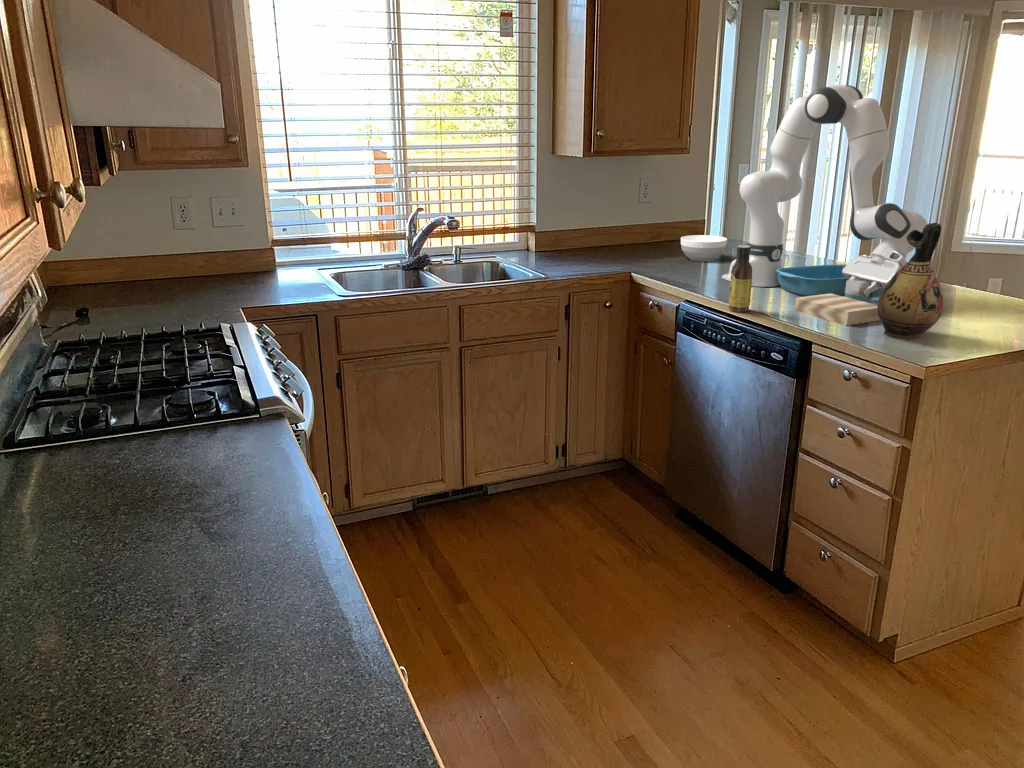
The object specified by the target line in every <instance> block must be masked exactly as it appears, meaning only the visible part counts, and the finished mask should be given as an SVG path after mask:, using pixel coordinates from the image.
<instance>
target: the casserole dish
mask: <svg viewBox="0 0 1024 768" xmlns="http://www.w3.org/2000/svg"><path fill="white" fill-rule="evenodd" d="M846 265H847V264H821V265H820V264H819V265H807V266H806V265H803V266H793V267H792V266H791V267H782V268H780V269H777V270H776V271H777V275H778V280H779V284H780V285H779V286H780V287H781V288H782V289H783V290H784V291H786V292H791V293H794V294H795V295H800V296H802V297H806V296H814V295H821V294H829V293H831V294H835V295H839V296H845V289H846V282H847V280H849V279H846V278H845V276H844V275H843V273H842V270H843V268H844V267H845V266H846Z"/></svg>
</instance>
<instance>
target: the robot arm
mask: <svg viewBox="0 0 1024 768" xmlns="http://www.w3.org/2000/svg"><path fill="white" fill-rule="evenodd" d="M838 123H839V124H841V125H843V127H844V129H845V132H846V137H847V143H848V149H849V171H848V172H849V175H848V176H849V185H850V196H851V198H850V199H851V215H850V221H849V226H850V230H851V233H852V235H854V237H855V238H857V239H858V240H861V241H870V240H873V239H875V238H879V239H880V242H879V244H878V245H877V246H876V247H875V248H874V249H873V251H872V252H871V253H870V254H869V255H868V254H865V253H864V254H860V255H857V256H855V257H854V258H853V259H852V260H850V262H849V263H848V264H845V265H846V266H845V267H844V268H843V270H842V273H843V275H844V276H845V278H846V279H849V280H852V279H862V280H866V281H871V286H869V287H868V288H864V289H863V291H862V292H861V293H862V295H864V296H868V295H869V294H871V293H873V292H875V291H877V290H878V289H879V288H881V289H884V288H885V286H886V285H887V283H888V282H889V281H890V280H891V278H892V277H893V276H894V275H895V274H896V273H897V272H898V271H899V270H900V269H901V268H902V267H903V266H904V265H905V264H906V263H908V261H907V260H906V258H907V256H908V254H909V253H911V252H913V250H914V249H915V247H913V246H912V245H910V244H909V243H908V241H907V235H908V234H909V233H910V232H911V231H913V230H918V231H919V232H921V233H922V231H923V229H924V227H925V226H926V225H927V224H928V221H927V220H926V219H925V217H924V216H923V215H921V214H920V213H918V212H916V211H907V210H904V209H902V208H901V207H899V206H898V204H895V203H891V202H889V203H888V202H887V203H882V204H878V205H875V203H874V193H873V182H872V181H873V176H874V173H875V171H876V170H877V168H878V167H879V166H880V165H881V163H882V162H883V161H884V160H885V159H886V157H887V155H888V154H889V151H890V137H889V131H888V127H887V122H886V119H885V116H884V113H883V110H882V107H881V105H880V103H879V101H878V100H877V99H875V98H872V97H864V95H863V93H862V91H861V90H860V89H859V88H857V87H855V86H853V85H851V84H845V85H844V84H843V85H842V84H834V85H831V86H823V87H818V88H817V89H815V90H813V91H811V93H810V94H809V95H808V96H800V97H798V98H796V99H794V101H793V102H792V103H791V104H790V106H789V108H788V109H787V110H786V112H785V114H784V116H783V118H782V120H781V122H780V124H779V127H778V129H777V131H776V134H775V136H774V138H773V140H772V143H771V145H770V148H769V152H770V154H771V156H772V161H771V162H772V163H771V165H770V166H771V167H770V168H769V170H758V171H754V172H751V173H749V174H747V175H745V176H744V177H743V178H742V180H741V181H740V185H739V195H740V197H741V199H742V200H743V201H744V202H745V204H746V206H747V209H748V213H749V219H750V222H749V223H750V227H749V239H748V240H749V241H748V242H747V243H743V244H742V245H748V246H751V251H750V255H749V259H750V260H749V263H750V264H751V266H752V284H751V287H765V288H767V287H768V288H769V287H779V286H780V284H779V280H778V275H777V271H776V270H777V269H780V268H783V266H782V265H783V263H782V255H783V251H784V244H783V238H784V229H785V228H784V227H785V221H784V219H783V218H782V217H781V216H780V213H779V209H778V203H785V202H788V201H790V200H792V199H794V198H796V197H797V196H799V195H800V192H801V191H802V189H803V179H802V176H801V175H800V173H801V168H802V167H801V166H802V162H803V158H804V157H805V154H806V152H807V150H808V147H809V145H810V143H811V140H812V138H813V137H814V134H815V132H816V129H817V128H818V126H819V125H828V124H829V125H831V124H832V125H833V124H838ZM735 262H736V258H735V259H734V260H732V262H730V265H729V270H728V273H724V274H723V275H722V276H721V279H723V280H725V281H728V282H730V280H731V271H732V269H733V266H734V264H735ZM869 296H870V295H869Z"/></svg>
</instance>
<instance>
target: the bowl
mask: <svg viewBox="0 0 1024 768" xmlns="http://www.w3.org/2000/svg"><path fill="white" fill-rule="evenodd" d="M727 243H728V239H727V237H724V236H719V235H709V234H708V235H707V234H705V235H704V234H702V235H701V234H698V235H697V234H694V235H693V234H692V235H684V236H681V237H680V245H681V250H682V252H683V254H684V255H685V256H686V257H687V258H688V259H689V261H694V262H702V263H703V262H704V263H705V262H706V263H707V262H713V261H716V260H717V259H718V258H720V256H722V255H723V253H724V251H725V249H726V248H727Z"/></svg>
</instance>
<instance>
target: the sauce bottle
mask: <svg viewBox="0 0 1024 768" xmlns="http://www.w3.org/2000/svg"><path fill="white" fill-rule="evenodd" d="M750 251H751V246H748V245H743V244H740V245H737V246H736V258H735V259H736V262H735V264H734V266H733V269H732V271H731V280H730V281H729V282H730V283H729V294H728V295H729V297H728V309H729V310H730V311H732V312H736V313H745V312H748V311H749V310H750V305H751V296H752V295H751V294H752V293H751V292H752V286H751V284H752V266H751V264H750V263H749V260H750V259H749V255H750Z"/></svg>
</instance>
